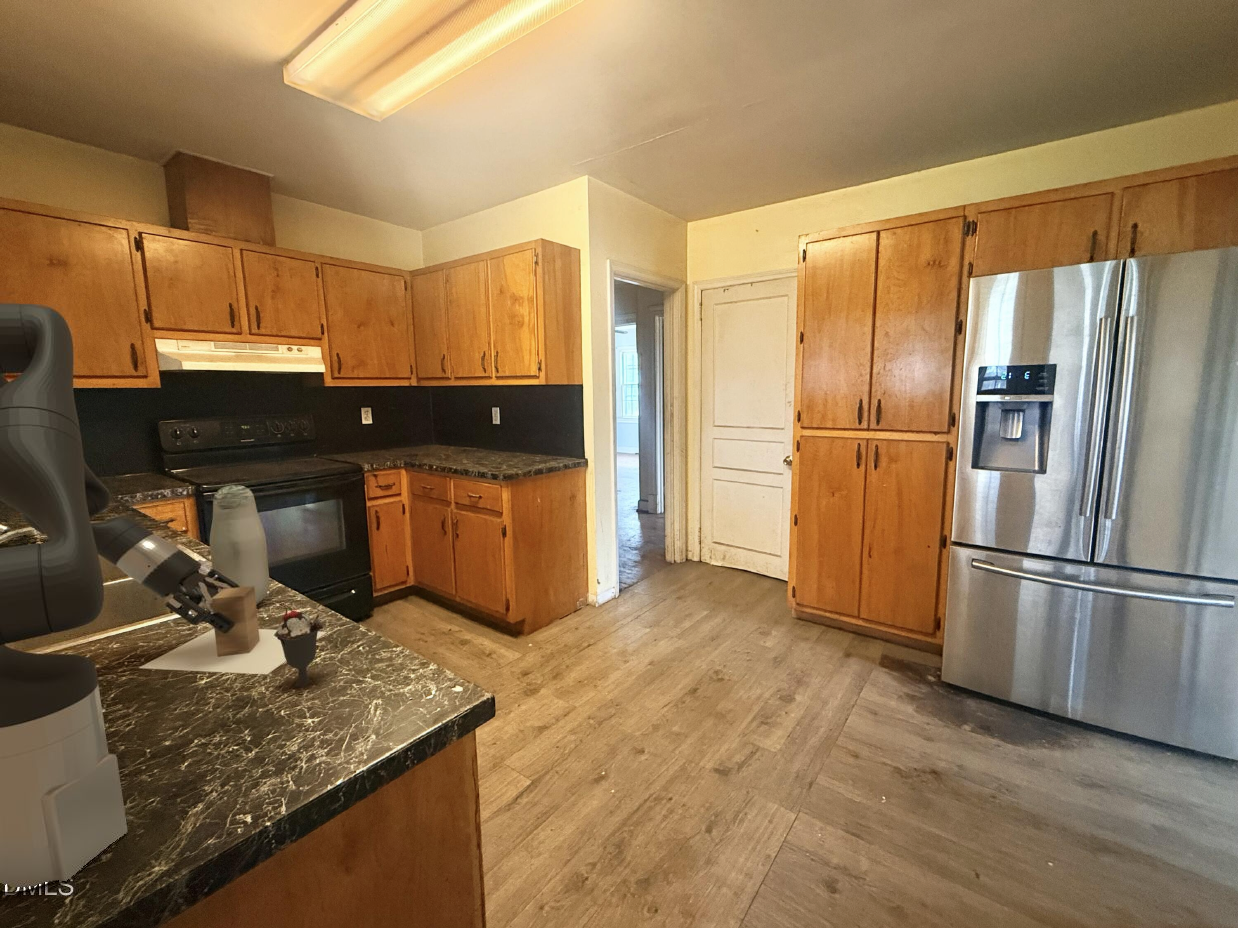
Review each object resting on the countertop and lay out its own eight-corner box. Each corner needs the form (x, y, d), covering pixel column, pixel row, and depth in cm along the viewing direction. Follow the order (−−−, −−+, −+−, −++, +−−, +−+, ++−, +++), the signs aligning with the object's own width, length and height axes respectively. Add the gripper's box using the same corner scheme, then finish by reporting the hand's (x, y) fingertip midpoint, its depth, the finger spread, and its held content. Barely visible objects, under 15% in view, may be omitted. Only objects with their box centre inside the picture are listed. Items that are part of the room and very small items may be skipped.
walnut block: (217, 656, 95) (211, 598, 94) (229, 644, 100) (223, 588, 99) (249, 652, 97) (243, 595, 95) (259, 640, 101) (254, 586, 100)
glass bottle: (215, 606, 120) (201, 485, 116) (268, 594, 127) (256, 480, 123) (219, 620, 113) (205, 491, 109) (276, 606, 119) (264, 485, 116)
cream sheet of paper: (327, 635, 105) (327, 631, 105) (267, 678, 89) (266, 674, 89) (216, 630, 107) (216, 627, 107) (139, 672, 92) (138, 667, 92)
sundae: (270, 692, 85) (261, 604, 83) (311, 672, 91) (303, 590, 89) (295, 703, 82) (286, 611, 80) (335, 682, 88) (328, 596, 86)
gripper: (152, 561, 87) (240, 619, 91) (195, 539, 100) (270, 590, 105) (118, 596, 86) (207, 652, 91) (166, 568, 100) (242, 618, 104)
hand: (241, 619), depth 98 cm, fingers open, 8 cm apart
